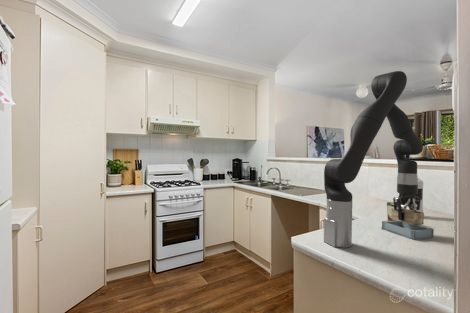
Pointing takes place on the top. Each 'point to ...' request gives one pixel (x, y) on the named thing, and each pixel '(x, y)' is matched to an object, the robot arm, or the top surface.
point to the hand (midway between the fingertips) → (406, 219)
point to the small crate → (409, 216)
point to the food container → (389, 206)
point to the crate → (408, 230)
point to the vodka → (419, 195)
